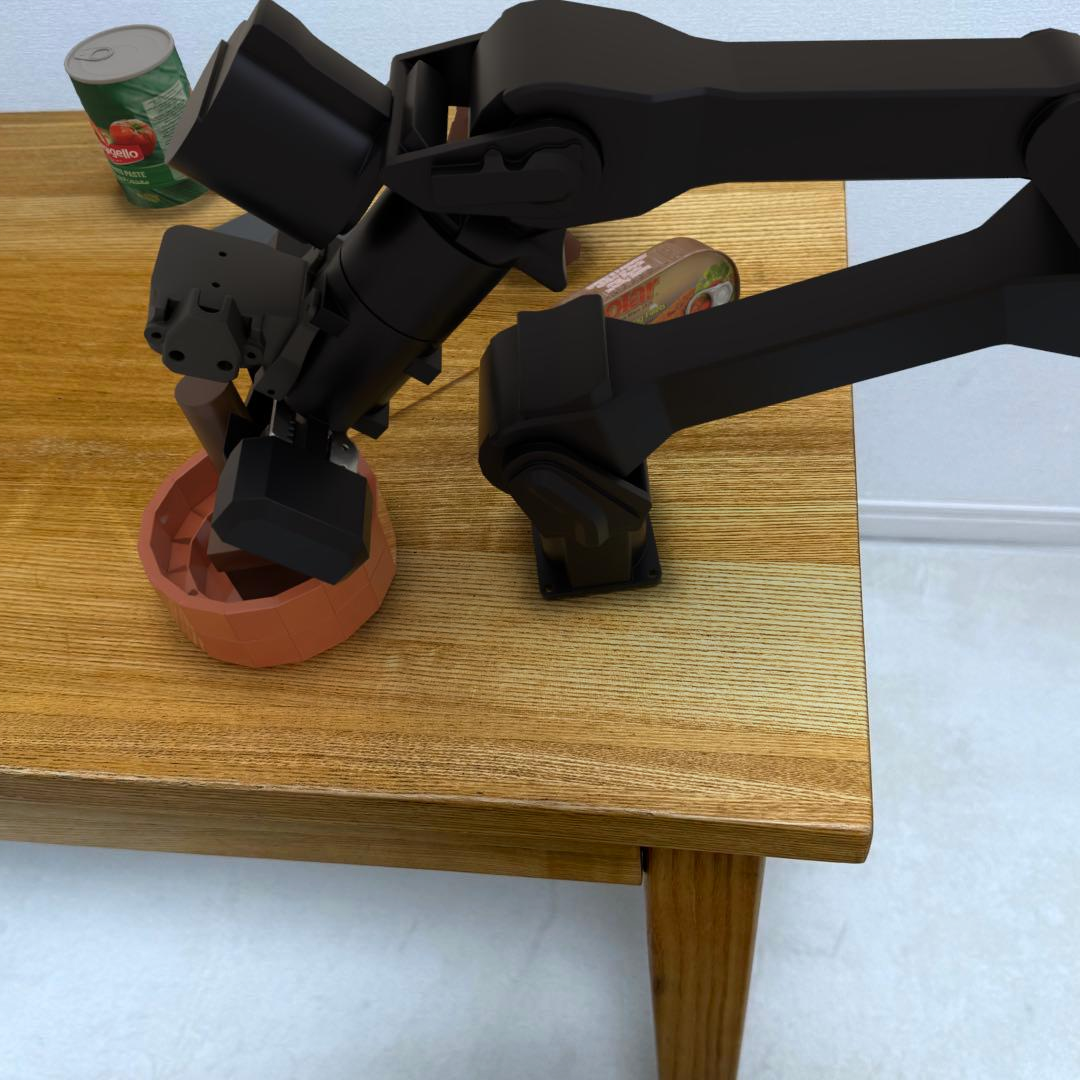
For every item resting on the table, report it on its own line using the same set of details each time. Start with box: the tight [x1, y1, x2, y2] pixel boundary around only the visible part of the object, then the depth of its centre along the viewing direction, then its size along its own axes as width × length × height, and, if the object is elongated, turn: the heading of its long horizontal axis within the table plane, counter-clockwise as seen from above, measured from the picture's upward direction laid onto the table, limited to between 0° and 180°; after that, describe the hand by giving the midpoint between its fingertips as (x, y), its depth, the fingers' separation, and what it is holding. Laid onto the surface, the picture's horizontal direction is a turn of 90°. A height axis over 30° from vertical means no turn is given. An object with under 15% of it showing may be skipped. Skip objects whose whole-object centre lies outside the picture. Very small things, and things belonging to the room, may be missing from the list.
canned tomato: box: [63, 23, 210, 210], centre depth 81 cm, size 8×8×11 cm
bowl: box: [136, 436, 398, 669], centre depth 57 cm, size 12×12×6 cm
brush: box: [173, 375, 313, 601], centre depth 54 cm, size 6×4×14 cm
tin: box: [548, 236, 742, 324], centre depth 63 cm, size 15×3×8 cm, turn 126°
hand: (227, 489), depth 54 cm, fingers closed on brush, 2 cm apart
